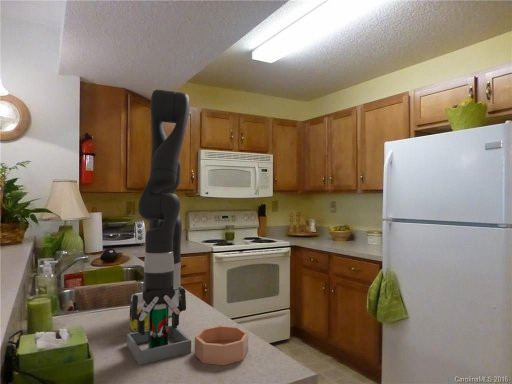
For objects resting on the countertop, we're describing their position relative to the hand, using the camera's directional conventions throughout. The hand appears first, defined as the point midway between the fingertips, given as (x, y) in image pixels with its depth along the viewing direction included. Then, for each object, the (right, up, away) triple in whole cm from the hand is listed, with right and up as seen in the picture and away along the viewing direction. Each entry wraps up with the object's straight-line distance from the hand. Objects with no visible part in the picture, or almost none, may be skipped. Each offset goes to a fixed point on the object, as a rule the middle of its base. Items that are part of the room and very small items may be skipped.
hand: (158, 330), depth 91 cm
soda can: (0, -5, 0) cm, 5 cm away
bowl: (+17, -5, -2) cm, 18 cm away
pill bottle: (-8, -5, +11) cm, 15 cm away
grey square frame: (0, -5, 0) cm, 5 cm away
